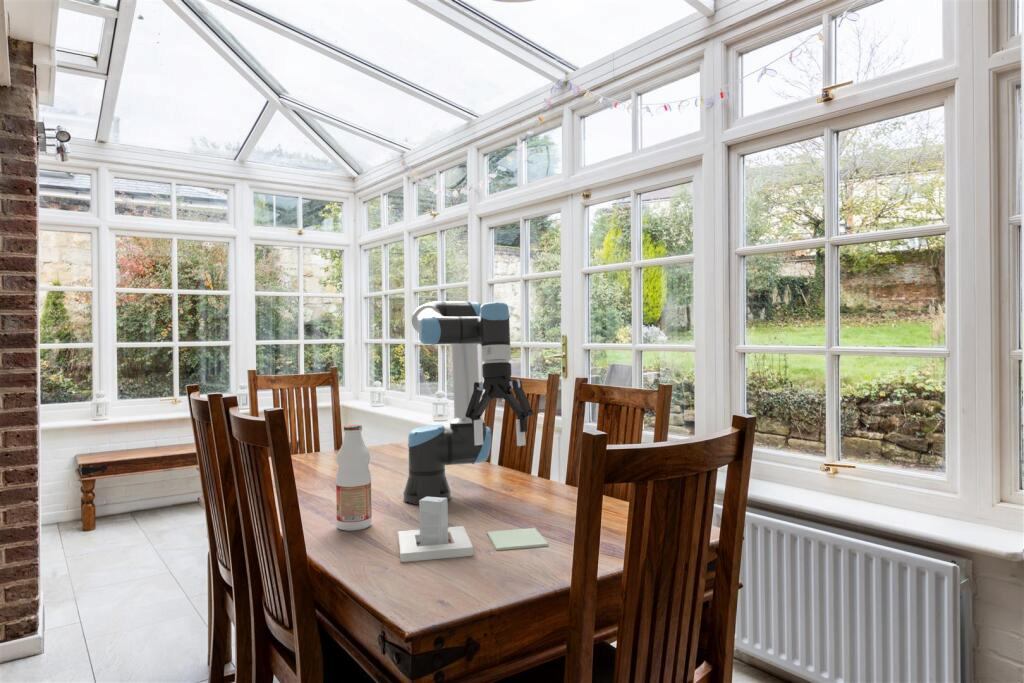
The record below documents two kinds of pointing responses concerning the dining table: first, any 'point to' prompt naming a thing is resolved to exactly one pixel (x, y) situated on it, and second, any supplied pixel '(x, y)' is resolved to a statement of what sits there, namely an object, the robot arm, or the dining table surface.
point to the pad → (516, 539)
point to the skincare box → (433, 521)
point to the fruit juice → (353, 482)
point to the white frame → (434, 546)
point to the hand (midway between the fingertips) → (499, 445)
